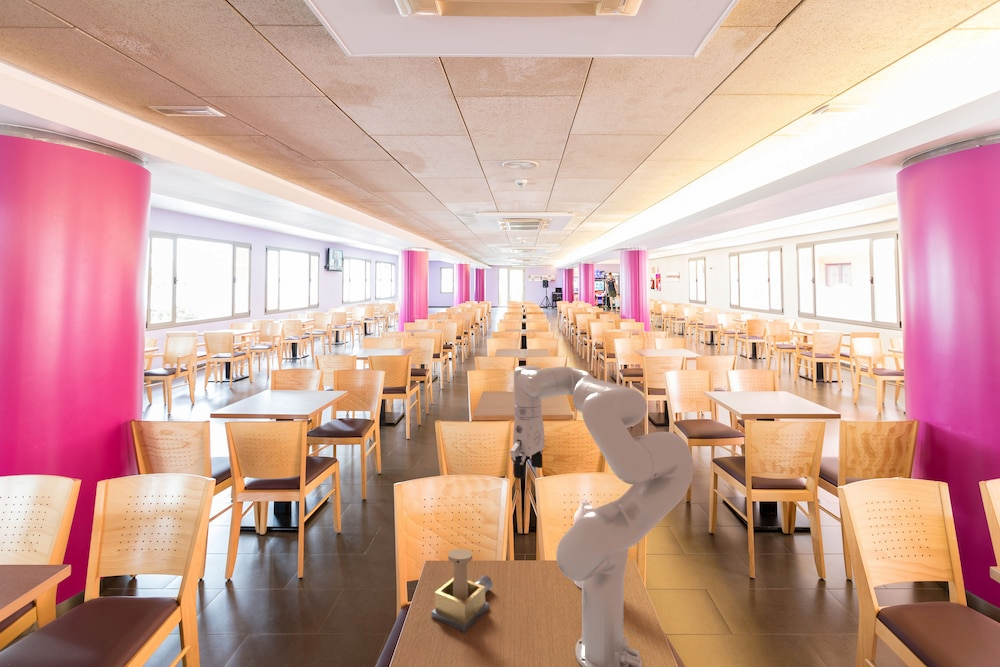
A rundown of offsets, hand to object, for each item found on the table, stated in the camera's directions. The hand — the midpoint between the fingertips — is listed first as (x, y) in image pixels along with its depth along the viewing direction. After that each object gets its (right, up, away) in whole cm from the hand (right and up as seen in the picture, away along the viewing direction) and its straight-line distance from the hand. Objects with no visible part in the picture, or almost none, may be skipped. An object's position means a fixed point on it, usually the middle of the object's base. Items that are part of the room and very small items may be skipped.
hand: (528, 472), depth 130 cm
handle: (-18, -36, -3) cm, 40 cm away
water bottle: (+17, -36, +8) cm, 41 cm away
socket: (-17, -37, 0) cm, 40 cm away
